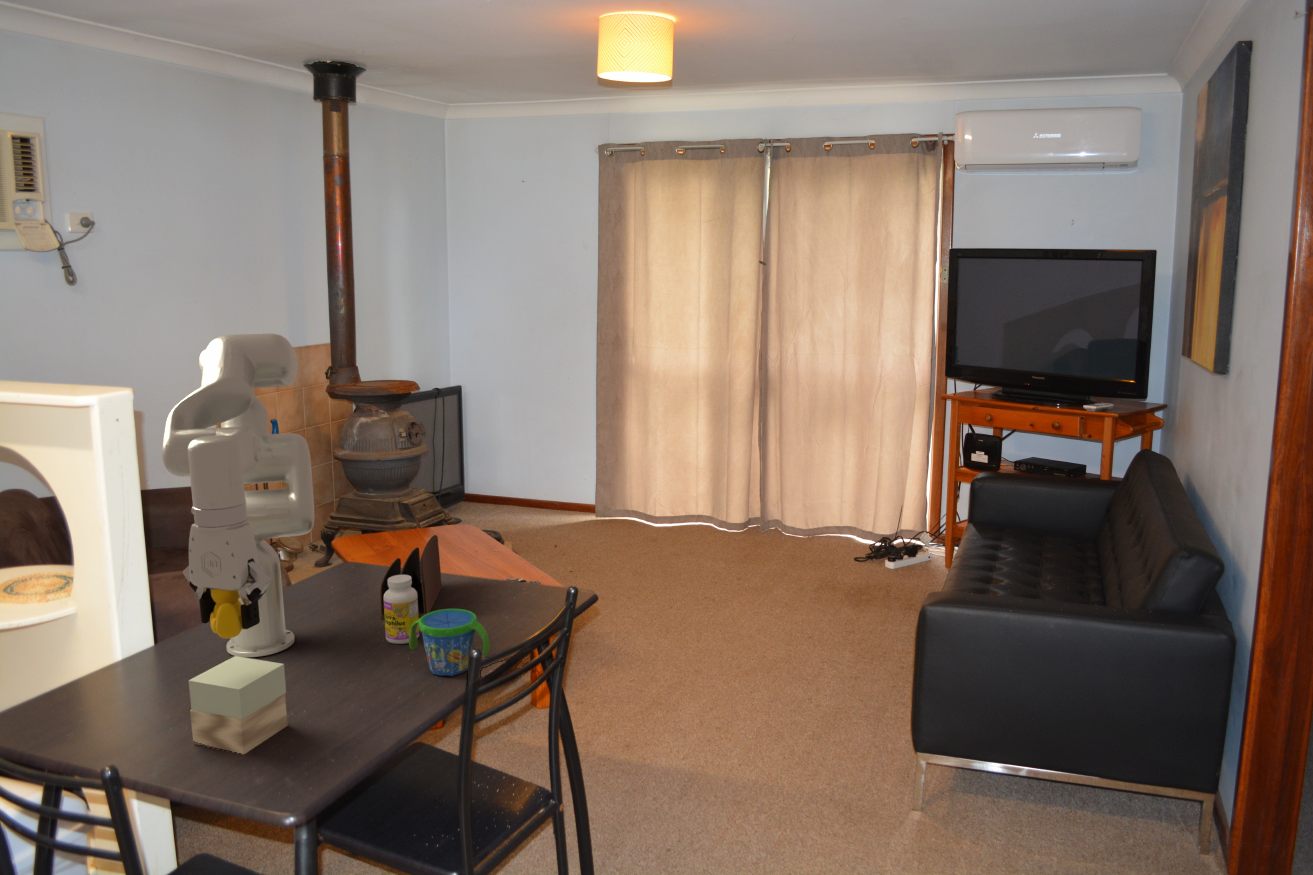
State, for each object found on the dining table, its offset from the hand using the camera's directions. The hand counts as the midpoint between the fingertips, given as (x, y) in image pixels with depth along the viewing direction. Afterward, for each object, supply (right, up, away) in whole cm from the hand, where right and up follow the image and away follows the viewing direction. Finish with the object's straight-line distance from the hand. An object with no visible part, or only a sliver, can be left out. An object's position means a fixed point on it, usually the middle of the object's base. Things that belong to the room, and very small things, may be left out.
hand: (230, 622), depth 154 cm
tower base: (0, -19, +4) cm, 20 cm away
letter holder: (+13, -8, +63) cm, 65 cm away
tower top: (0, -13, +3) cm, 14 cm away
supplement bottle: (+16, -12, +43) cm, 47 cm away
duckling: (0, -2, +1) cm, 2 cm away
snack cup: (+29, -14, +28) cm, 43 cm away
